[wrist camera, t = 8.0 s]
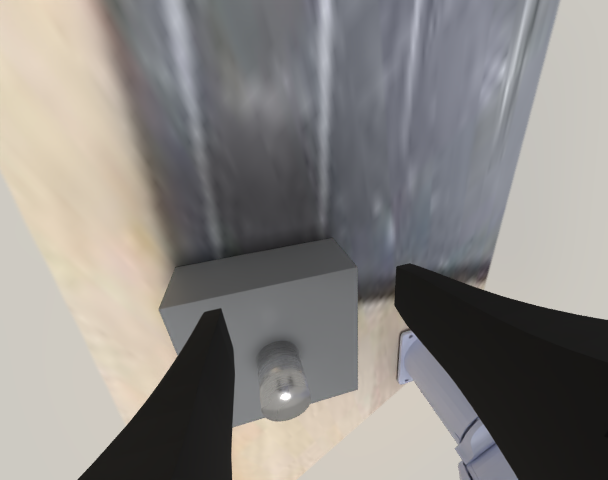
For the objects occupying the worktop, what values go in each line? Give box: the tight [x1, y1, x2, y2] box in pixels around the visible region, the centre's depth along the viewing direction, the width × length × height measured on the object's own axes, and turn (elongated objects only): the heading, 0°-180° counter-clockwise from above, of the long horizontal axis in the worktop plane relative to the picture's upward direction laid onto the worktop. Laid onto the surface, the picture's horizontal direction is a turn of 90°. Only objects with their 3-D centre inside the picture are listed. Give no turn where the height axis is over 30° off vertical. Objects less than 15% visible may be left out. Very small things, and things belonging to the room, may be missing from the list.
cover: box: [159, 238, 358, 427], centre depth 19 cm, size 12×12×8 cm
